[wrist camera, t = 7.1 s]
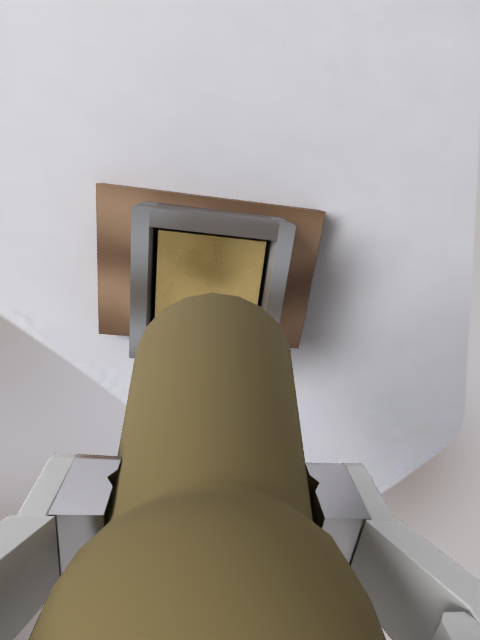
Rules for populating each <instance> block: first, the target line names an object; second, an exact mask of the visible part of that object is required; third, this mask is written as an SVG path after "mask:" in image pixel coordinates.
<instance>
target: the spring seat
mask: <svg viewBox="0 0 480 640" xmlns="http://www.w3.org/2000/svg"><path fill="white" fill-rule="evenodd" d="M266 243H267V242H266V241H265V240H264V239H255V238H246V237H237V236H228V235H219V234H210V233H201V232H192V231H183V230H174V229H165V228H160V229H159V230H158V249H157V274H156V299H155V317H156V316H157V315H158V314H159V313H160V312H161V311H162V310H163V309H164V308H166V307H168V306H170V305H172V304H174V303H176V302H178V301H180V300H182V299H184V298H186V297H191V296H196V295H202V294H208V293H218V294H225V295H233V296H239V297H241V298H243V299H245V300H247V301H250V302H252V303H254V304H256V305H257V304H258V297H259V290H260V284H261V277H262V270H263V263H264V256H265V249H266Z"/></svg>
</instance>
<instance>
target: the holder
mask: <svg viewBox="0 0 480 640" xmlns="http://www.w3.org/2000/svg"><path fill="white" fill-rule="evenodd" d="M96 212H97V264H98V315H99V334H109V335H123V336H130V341H129V358H135V355H136V349H137V346H138V344H139V342H140V340H141V337H142V335H143V333H144V331H145V328H146V326H147V325H148V324H149V323H150V322H151V321H152V320H153V319H154V318H155V299H156V274H157V249H158V230H159V229H160V228H165V229H174V230H183V231H192V232H201V233H210V234H219V235H228V236H237V237H246V238H255V239H264V240H265V241H266V242H267V243H266V249H265V256H264V263H263V270H262V277H261V284H260V290H259V297H258V304H257V305H258V306H260V307H262V308H263V309H264V310H265V311H266V312H267V313H268V314H269V315H270V316H271V317H272V318H274V319H275V320H276V321H277V322H278V323H279V325H280V327H281V329H282V331H283V333H284V335H285V337H286V338H287V340H288V342H289V346H290V348H299V343H300V338H301V333H302V328H303V323H304V318H305V312H306V307H307V302H308V297H309V292H310V287H311V282H312V277H313V272H314V267H315V262H316V257H317V252H318V247H319V242H320V237H321V232H322V227H323V222H324V217H325V212H324V211H321V210H314V209H306V208H298V207H290V206H282V205H274V204H266V203H258V202H250V201H242V200H234V199H226V198H218V197H210V196H202V195H194V194H186V193H178V192H170V191H162V190H154V189H146V188H138V187H130V186H122V185H114V184H106V183H96Z"/></svg>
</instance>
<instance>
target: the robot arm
mask: <svg viewBox="0 0 480 640" xmlns="http://www.w3.org/2000/svg"><path fill="white" fill-rule="evenodd" d="M121 460H122V457H120V456H103V455H85V454H78V455H75V454H59V453H55V454H53V455H52V456H51V457H50V458H49V459H48V461H47V463H46V465H45V466H44V468H43V470H42V472H41V474H40V475H39V477H38V479H37V480H36V482H35V484H34V486H33V488H32V489H31V491H30V493H29V495H28V496H27V498H26V500H25V502H24V504H23V505H22V507H21V509H20V511H19V512H18V514H17V515H9V516H7V517H6V518H4V519H3V520H1V521H0V640H13V639H14V638H15V637H16V636H17V635H18V633H19V632H20V631H21V630H22V629H23V628H24V627H25V626H26V624H27V623H28V622H29V621H30V620H31V619H32V618H33V616H34V615H35V614H36V613H37V612H38V611H39V610H40V609H41V607H42V606H43V605H44V604H45V603H46V600H47V598H48V596H49V594H50V592H51V590H52V588H53V586H54V585H55V583H56V582H57V580H58V579H59V577H60V576H61V574H62V573H63V572H64V570H65V569H66V567H67V566H68V564H69V563H70V561H71V560H72V558H73V557H74V556H75V554H76V553H77V551H78V550H79V549H80V548H81V547H82V546H83V545H84V544H85V543H87V542H88V541H89V540H90V539H91V538H92V537H93V536H94V535H96V534H97V533H98V532H99V531H100V530H101V529H102V528H103V527H105V526H106V525H107V521H108V517H109V512H110V508H111V504H112V499H113V488H114V485H115V482H116V480H117V477H118V473H119V469H120V464H121ZM305 466H306V473H307V481H308V488H309V496H310V504H311V511H312V519H313V522H314V523H315V524H316V525H318V526H319V527H320V528H322V529H323V530H324V531H326V532H327V533H329V534H330V535H331V536H332V538H333V539H334V541H335V542H336V544H337V546H338V547H339V549H340V550H341V552H342V553H343V555H344V557H345V558H346V560H347V561H348V563H349V565H350V566H351V568H352V569H353V571H354V573H355V574H356V576H357V578H358V579H359V581H360V583H361V584H362V586H363V588H364V589H365V591H366V593H367V594H368V596H369V598H370V599H371V602H372V604H373V607H374V609H375V612H376V615H377V617H378V620H379V623H380V625H381V627H382V628H383V629H384V631H385V632H386V633H387V634H388V636H389V637H390V638H391V639H392V640H480V580H478V579H477V578H476V577H475V576H473V575H472V574H471V573H470V572H468V571H467V570H466V569H464V568H463V567H462V566H460V565H459V564H458V563H457V562H455V561H454V560H453V559H451V558H450V557H449V556H447V555H446V554H445V553H444V552H442V551H441V550H440V549H438V548H437V547H436V546H434V545H433V544H432V543H431V542H429V541H428V540H427V539H425V538H424V537H423V536H421V535H420V534H419V533H417V532H416V531H415V530H414V529H412V528H411V527H410V526H408V525H407V524H406V523H404V522H403V521H402V520H395V518H394V517H393V515H392V513H391V511H390V509H389V508H388V506H387V504H386V502H385V501H384V499H383V497H382V495H381V494H380V492H379V490H378V488H377V487H376V485H375V483H374V481H373V480H372V478H371V476H370V474H369V472H368V471H367V469H366V467H365V466H364V465H363V464H361V463H341V464H340V463H305Z"/></svg>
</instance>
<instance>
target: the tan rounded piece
mask: <svg viewBox="0 0 480 640" xmlns="http://www.w3.org/2000/svg"><path fill="white" fill-rule="evenodd" d="M118 456H120V457H122V460H121V464H120V469H119V473H118V477H117V480H116V482H115V485H114V488H113V499H112V504H111V508H110V512H109V517H108V521H107V525H106V526H105V527H103V528H102V529H101V530H100V531H99V532H98V533H97V534H96V535H94V536H93V537H92V538H91V539H90V540H89V541H88V542H87V543H85V544H84V545H83V546H82V547H81V548H80V549H79V550H78V551H77V553H76V554H75V556H74V557H73V558H72V560H71V561H70V563H69V564H68V566H67V567H66V569H65V570H64V572H63V573H62V574H61V576H60V577H59V579H58V580H57V582H56V583H55V585H54V586H53V588H52V590H51V592H50V594H49V596H48V598H47V600H46V603H45V605H44V607H43V609H42V611H41V613H40V615H39V618H38V620H37V622H36V624H35V626H34V628H33V631H32V633H31V635H30V638H29V640H386V639H385V636H384V633H383V631H382V628H381V625H380V623H379V620H378V617H377V615H376V612H375V609H374V607H373V604H372V602H371V599H370V598H369V596H368V594H367V593H366V591H365V589H364V588H363V586H362V584H361V583H360V581H359V579H358V578H357V576H356V574H355V573H354V571H353V569H352V568H351V566H350V565H349V563H348V561H347V560H346V558H345V557H344V555H343V553H342V552H341V550H340V549H339V547H338V546H337V544H336V542H335V541H334V539H333V538H332V536H331V535H330V534H329V533H327V532H326V531H324V530H323V529H322V528H320V527H319V526H318V525H316V524H315V523H314V522H313V519H312V511H311V504H310V496H309V488H308V481H307V473H306V466H305V458H304V451H303V443H302V436H301V428H300V421H299V413H298V406H297V398H296V391H295V383H294V376H293V368H292V361H291V353H290V346H289V342H288V340H287V338H286V337H285V335H284V333H283V331H282V329H281V327H280V325H279V323H278V322H277V321H276V320H275V319H274V318H272V317H271V316H270V315H269V314H268V313H267V312H266V311H265V310H264V309H263V308H262V307H260V306H258V305H256V304H254V303H252V302H250V301H247V300H245V299H243V298H241V297H239V296H233V295H225V294H218V293H208V294H202V295H196V296H191V297H186V298H184V299H182V300H180V301H178V302H176V303H174V304H172V305H170V306H168V307H166V308H164V309H163V310H162V311H161V312H160V313H159V314H158V315H157V316H156V317H155V318H154V319H153V320H152V321H151V322H150V323H149V324H148V325H147V326H146V328H145V331H144V333H143V335H142V337H141V340H140V342H139V344H138V346H137V349H136V355H135V361H134V366H133V372H132V378H131V383H130V389H129V395H128V400H127V406H126V411H125V417H124V423H123V428H122V434H121V440H120V446H119V451H118Z"/></svg>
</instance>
